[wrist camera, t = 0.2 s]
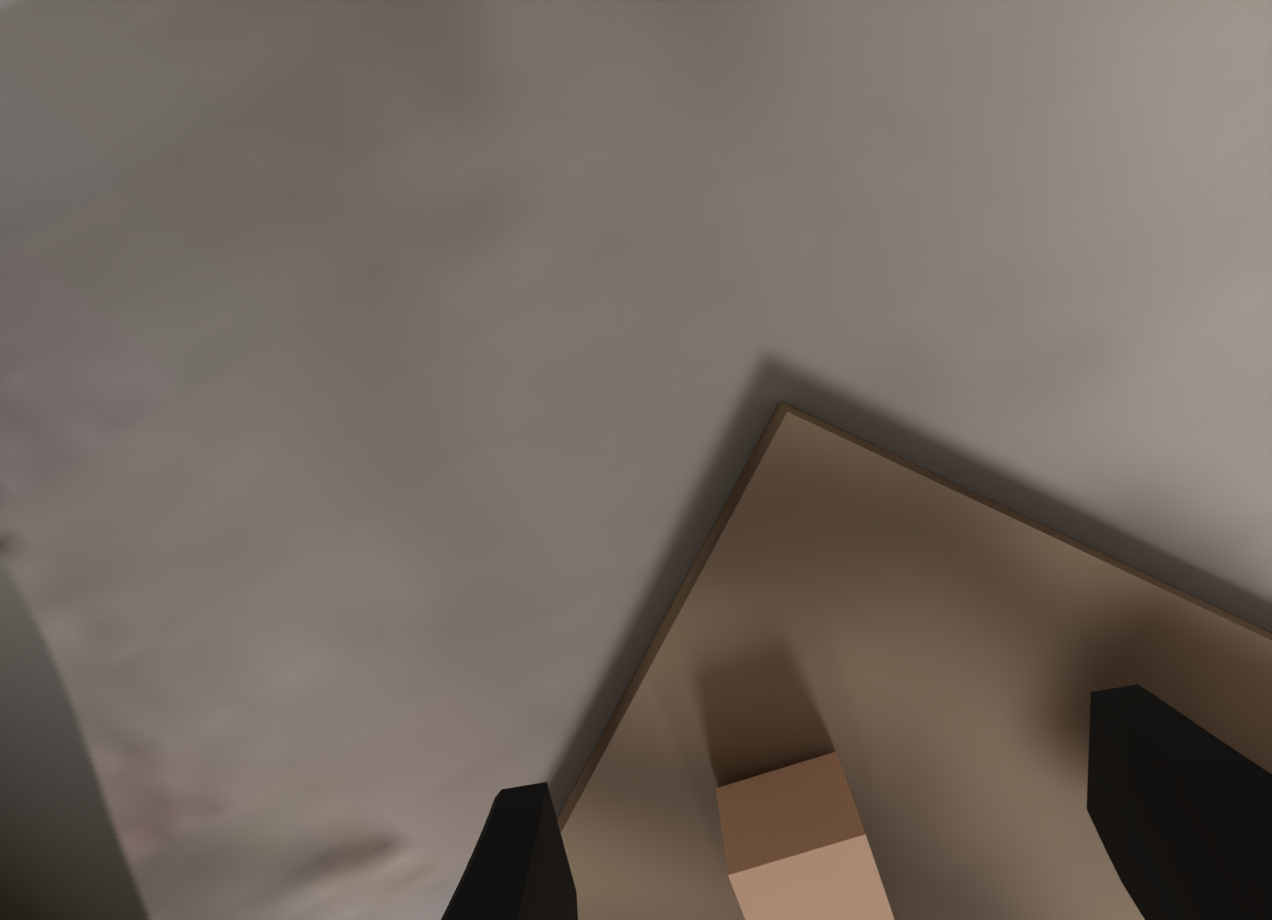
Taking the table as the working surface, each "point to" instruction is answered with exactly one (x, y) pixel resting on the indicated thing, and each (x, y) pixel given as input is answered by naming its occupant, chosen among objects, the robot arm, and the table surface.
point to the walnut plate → (895, 691)
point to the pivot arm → (800, 846)
